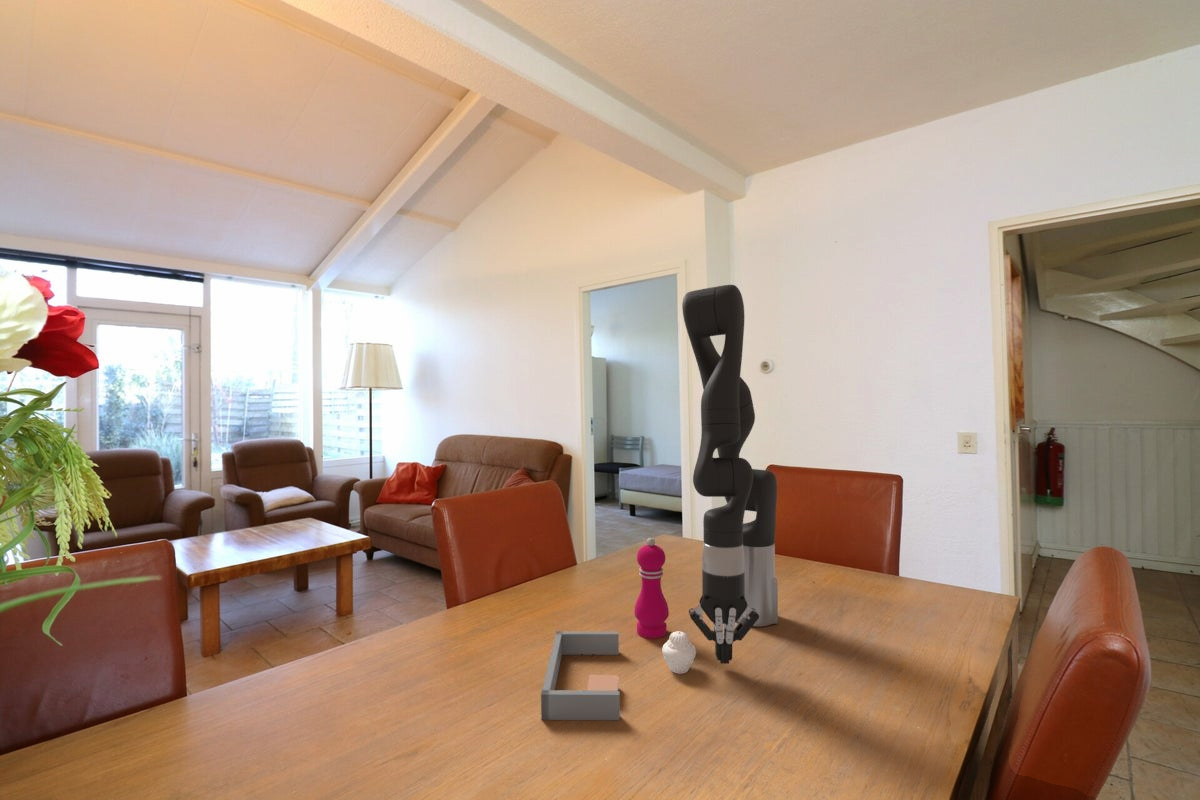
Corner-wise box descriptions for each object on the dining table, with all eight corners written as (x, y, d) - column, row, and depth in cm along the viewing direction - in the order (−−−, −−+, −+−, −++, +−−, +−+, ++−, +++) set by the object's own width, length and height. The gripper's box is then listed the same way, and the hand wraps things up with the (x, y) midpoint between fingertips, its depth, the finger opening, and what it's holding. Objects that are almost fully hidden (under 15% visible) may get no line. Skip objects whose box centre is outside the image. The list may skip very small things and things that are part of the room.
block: (618, 690, 96) (618, 675, 96) (617, 706, 91) (617, 691, 91) (589, 689, 96) (589, 674, 96) (586, 705, 91) (586, 690, 91)
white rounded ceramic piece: (666, 659, 106) (666, 622, 106) (698, 664, 104) (698, 627, 104) (658, 675, 100) (658, 636, 100) (692, 680, 98) (692, 641, 98)
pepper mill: (667, 641, 113) (666, 543, 113) (632, 638, 115) (631, 541, 114) (670, 626, 120) (669, 534, 120) (636, 623, 122) (636, 532, 121)
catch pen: (618, 651, 109) (618, 631, 109) (619, 720, 87) (619, 694, 86) (556, 651, 109) (556, 631, 109) (541, 719, 87) (541, 694, 87)
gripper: (754, 560, 105) (754, 652, 105) (684, 560, 105) (684, 651, 106) (765, 574, 97) (765, 672, 98) (689, 574, 98) (690, 672, 98)
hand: (723, 661), depth 102 cm, fingers closed
